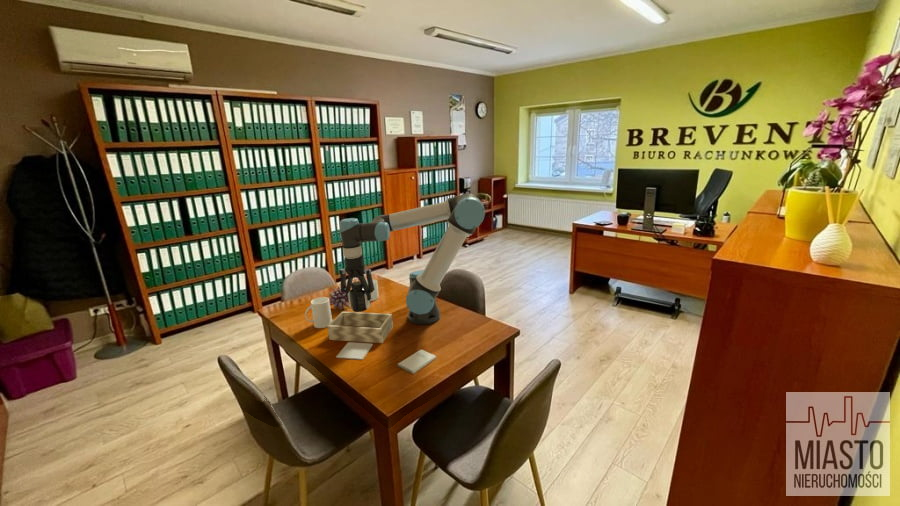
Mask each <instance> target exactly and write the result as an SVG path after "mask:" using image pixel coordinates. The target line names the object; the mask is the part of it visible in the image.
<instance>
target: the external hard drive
mask: <svg viewBox="0 0 900 506" xmlns="http://www.w3.org/2000/svg"><path fill="white" fill-rule="evenodd" d="M435 358H436V359H437V356H436V355H435V354H433V353H430V352H428V351H426V350H424V349H419V350H418V351H415V352H414V353H413V354H412V355H410V356H408V357H407V358H405V359H403V360H402V361H400V362H399V363H397V367H399V368H401V369H403V370H405V371H407V372H409V373H410V374H413V375H414V374H416V373H417V372H418V371H420V370H422V369H423V368H425V366H427V365H428V364H430V363H431V362H433V361H435V360H436V359H435Z"/></svg>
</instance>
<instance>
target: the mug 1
mask: <svg viewBox="0 0 900 506" xmlns="http://www.w3.org/2000/svg"><path fill="white" fill-rule="evenodd" d="M329 298H330V297H326V296H320V297H316V298H313V299H312V300H310V305H309V306H308V308H306V310H305V312H304V317H305V319H306V321H308V322H310V323H313V327H314V328H316V329H324V328H327V326H328V325H329V324H330V323H331V322H332V321H333V318H332V311H331V305H330V304H331V302H330V300H329ZM309 310H311V313H312V319H309V318H308V317H307V313H308V312H309Z"/></svg>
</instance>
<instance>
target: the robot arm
mask: <svg viewBox="0 0 900 506" xmlns="http://www.w3.org/2000/svg"><path fill="white" fill-rule="evenodd" d="M485 216H486V210H485V206H484V204H483V202H482V201H481V199H480V198H479V196H477V195H475V194H474V193H463V194H459V195H457V196H453V197H449V198H446V200H445V201H442V202H437V203H433V204H429V205H424V206H420V207H416V208H411V209H407V210H402V211H398V212H394V213H390V214H380V215H376V216H375V217H374V218H373V219H372V220H371V222H363V223H362V222H359V219H358V218H355V217H350V218H343V219H341V220H339V233H340V234H339V235H340V239H341V244H342V253H343V260H344V266H345V267H344V268H340V269H339V270H338V273H339V275H340V288H341V292H345V293H346V297H347V300H349V302H348V303H349V304H348V307H349V308H350V309H352V305H351V298H350V291H351V289H352V288H351V284H352V283H353V279H355V278H356V279H358V281H360V282H361V284H362V286H363V288H364V290H365V292H366V293H365V294H364V295H365V303H366V308H367V309H369V308H370V307H371V301H370V300H371V293H372V292H373V291H374V290H375V289H374V285H373V280H372V279H373V276H372V268H365V266H364V256H363V248H362V243H364V242H365V243H366V242H384V241H388V240H389V239H390V237H391V236H390V234H391V232H395V231H399V230H403V229H408V228H409V229H410V228H412V227H416V226H422V225H426V224H430V223H435V222H439V221H444V220H446V221H447V224H448V225H447V228H446V229H445V232H444V233H443V236H442V237H441V239H440V241H439V243H438V245H437V246H436V247H435V250H434V252H433V254H432V255H431V257H430V259H429V261H428V262H427V264H426V267H425V268H424V270H422V269H420V270H415V271H414V270H413V271H412V272H410V273H409V275H408V276H409V278H408V279H409V286H408V290H407V294H406V296H405V304H406V306H407V309H408V310H409V311H408V315H407V316H408V321H409V322H410V323H413V324H416V325H430V324H433V323H436V322H437V321H439V320H440V318H441V311H440V308H439V305H438V303H437V300H436V298H437V296H438V295H439V293H440V292H441V290H442V288H441V283H442V280H443V279H444V278H445V275H446V274H447V273H448V271H449V269H450V267H451V266H452V264H453V262H454V260H455V258H456V256H457V254H458V253H459V251H460V249H461V247H462V246H463V244H464V243H465V241H466V239H467V238H468V237H469V236H472V235H473V234H474V233H475V231H476V229H477V228H478V227H479V226H480V225H482V223H483V221H484V219H485ZM346 274H348V275H346ZM365 276H366V278H365ZM366 280H367V282H368V284H367V282H366ZM438 319H439V320H438Z"/></svg>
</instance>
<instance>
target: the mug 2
mask: <svg viewBox="0 0 900 506" xmlns="http://www.w3.org/2000/svg"><path fill="white" fill-rule="evenodd" d="M365 280H366V282H367V279H365ZM372 280H373V285H374V289H375V290H374V291H373V292H372V293H371V300H370V302H373V301H376V300H378V299H379V296H380V294H379V285H378V280H377V279H375V278H372ZM367 284H368V282H367Z"/></svg>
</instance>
